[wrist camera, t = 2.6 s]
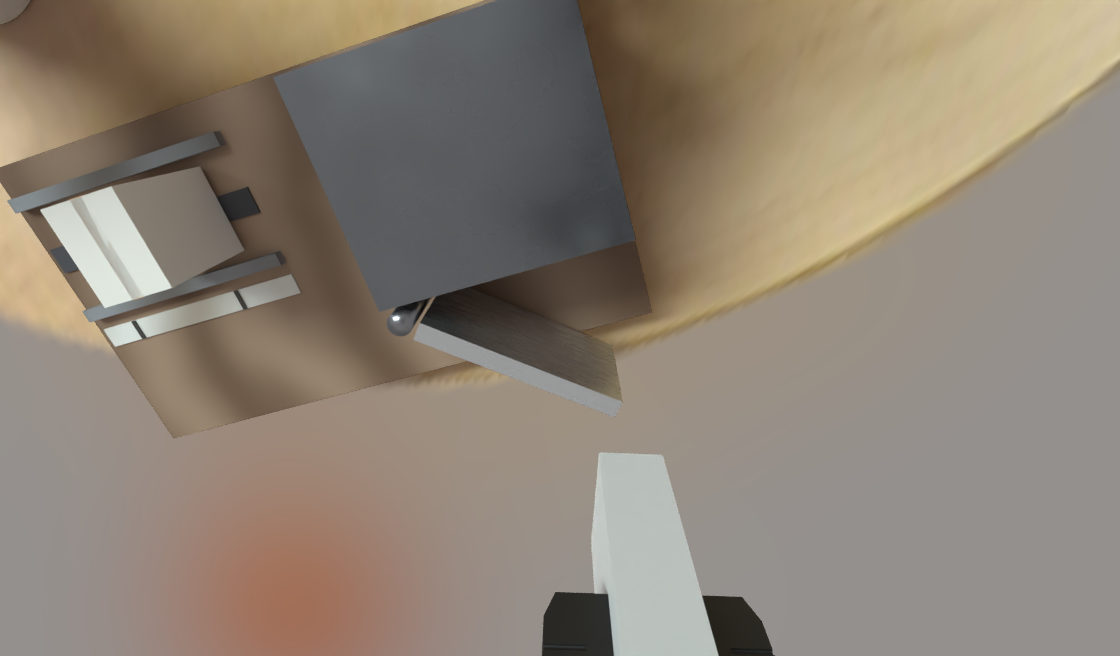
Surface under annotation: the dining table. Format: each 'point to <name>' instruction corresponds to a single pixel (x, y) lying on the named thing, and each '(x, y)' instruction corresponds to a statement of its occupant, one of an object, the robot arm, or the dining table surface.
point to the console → (272, 267)
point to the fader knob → (144, 234)
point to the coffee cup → (11, 9)
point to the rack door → (516, 345)
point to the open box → (463, 149)
